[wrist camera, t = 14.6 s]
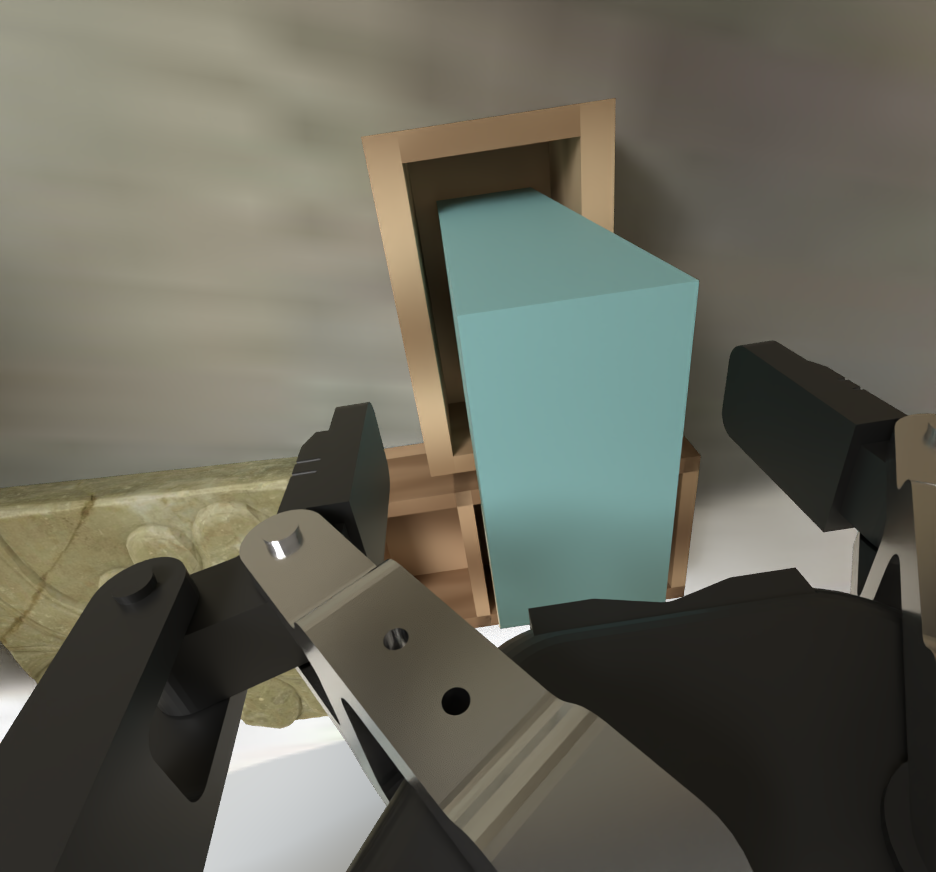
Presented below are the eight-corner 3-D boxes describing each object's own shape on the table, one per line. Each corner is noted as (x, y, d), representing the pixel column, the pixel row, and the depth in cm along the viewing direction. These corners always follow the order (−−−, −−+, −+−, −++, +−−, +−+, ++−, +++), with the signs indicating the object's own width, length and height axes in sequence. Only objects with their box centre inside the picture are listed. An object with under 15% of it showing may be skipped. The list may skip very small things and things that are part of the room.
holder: (376, 134, 19) (361, 136, 15) (568, 105, 19) (615, 98, 15) (429, 412, 25) (430, 477, 21) (575, 389, 25) (610, 449, 21)
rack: (351, 453, 26) (339, 510, 22) (659, 407, 26) (700, 455, 22) (388, 577, 31) (383, 641, 27) (650, 537, 31) (683, 596, 27)
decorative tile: (-52, 484, 26) (-115, 532, 23) (348, 442, 26) (338, 483, 23) (110, 703, 36) (80, 757, 33) (401, 669, 36) (399, 720, 33)
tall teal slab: (436, 200, 20) (457, 315, 8) (530, 187, 20) (699, 280, 8) (460, 370, 23) (500, 628, 11) (540, 358, 23) (665, 604, 11)
